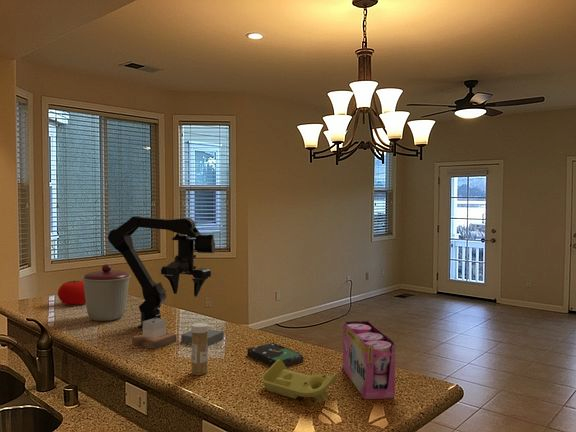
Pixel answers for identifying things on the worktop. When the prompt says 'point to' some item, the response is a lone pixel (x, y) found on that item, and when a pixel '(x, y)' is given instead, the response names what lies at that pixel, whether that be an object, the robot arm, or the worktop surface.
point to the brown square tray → (154, 341)
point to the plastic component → (296, 382)
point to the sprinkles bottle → (199, 348)
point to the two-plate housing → (154, 328)
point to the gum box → (369, 359)
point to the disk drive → (275, 354)
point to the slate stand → (212, 337)
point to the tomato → (72, 293)
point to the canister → (106, 293)
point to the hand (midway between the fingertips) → (185, 295)
